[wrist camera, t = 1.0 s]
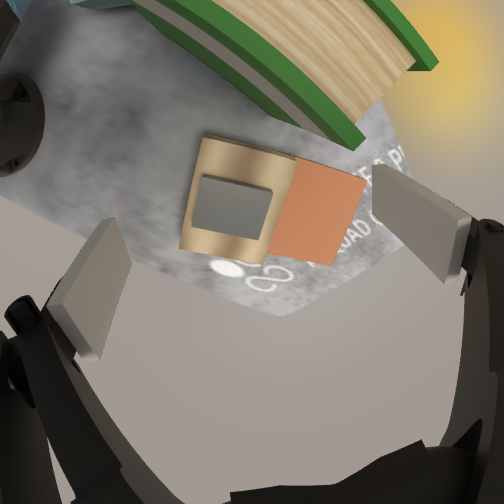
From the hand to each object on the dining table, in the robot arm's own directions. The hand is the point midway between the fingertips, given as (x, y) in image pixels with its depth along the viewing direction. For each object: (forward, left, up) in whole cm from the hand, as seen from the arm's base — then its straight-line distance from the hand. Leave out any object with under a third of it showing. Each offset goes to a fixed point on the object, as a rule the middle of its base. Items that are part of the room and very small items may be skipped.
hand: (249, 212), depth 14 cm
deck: (+2, -7, -24) cm, 25 cm away
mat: (+14, -7, -24) cm, 28 cm away
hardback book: (-3, +11, -24) cm, 27 cm away
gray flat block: (+2, -7, -20) cm, 21 cm away
